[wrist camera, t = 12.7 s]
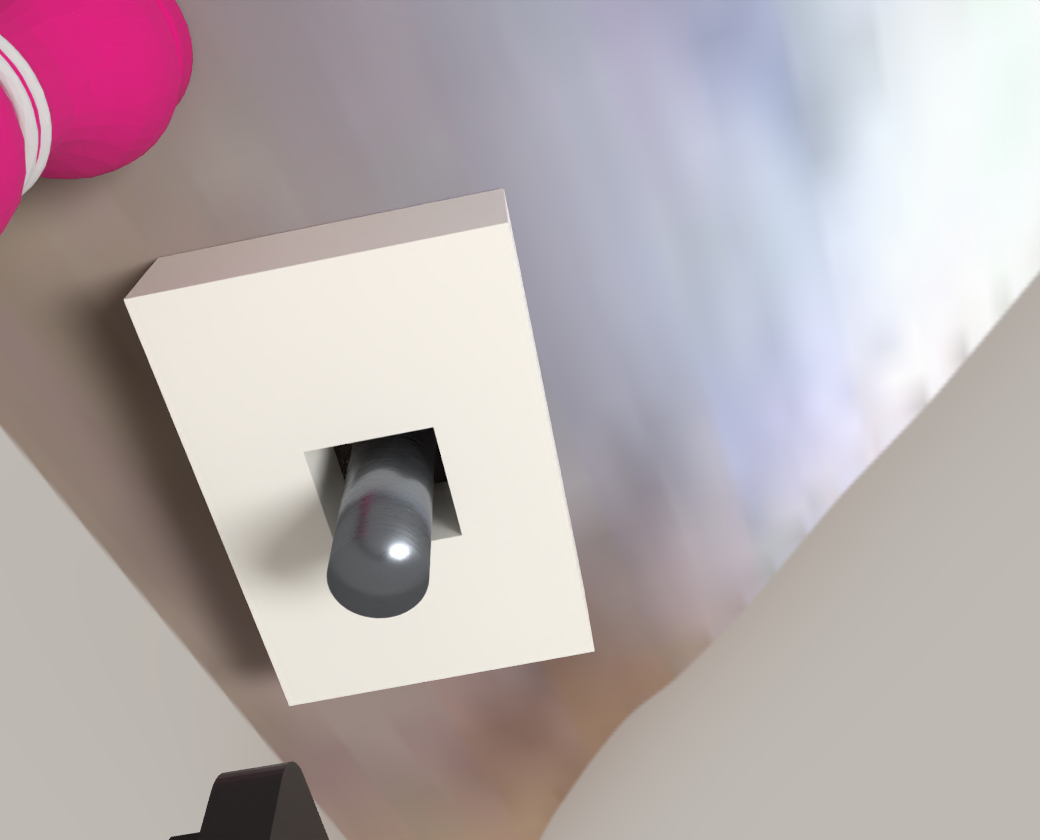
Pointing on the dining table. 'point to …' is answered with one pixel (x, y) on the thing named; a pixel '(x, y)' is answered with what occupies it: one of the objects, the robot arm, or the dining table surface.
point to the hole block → (372, 435)
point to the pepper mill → (85, 87)
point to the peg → (385, 525)
